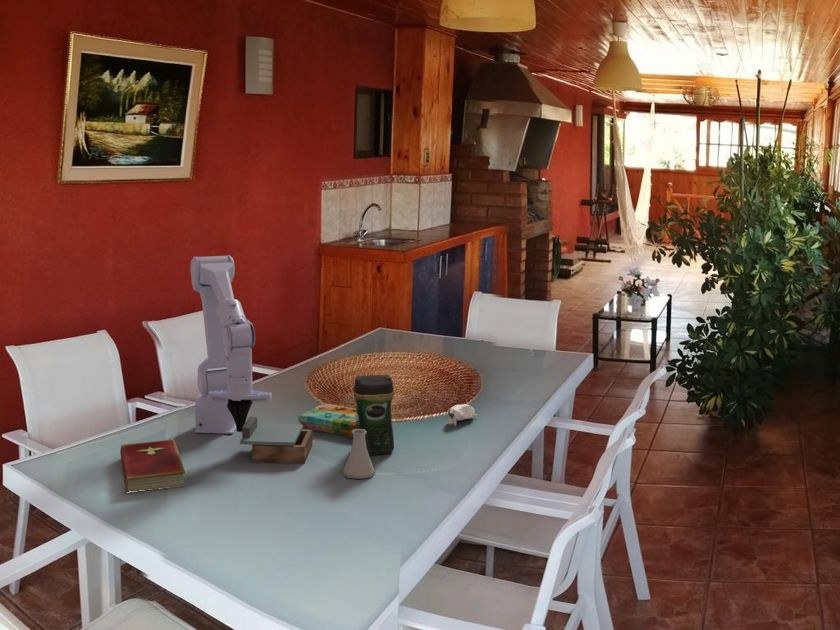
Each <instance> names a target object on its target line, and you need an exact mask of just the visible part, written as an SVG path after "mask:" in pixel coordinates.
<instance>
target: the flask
mask: <svg viewBox="0 0 840 630" xmlns="http://www.w3.org/2000/svg"><path fill="white" fill-rule="evenodd" d="M352 434H353V437H352V438H353V439H352V444H351V445H352V446H351V448H350V452H349V454H348V457H347V460H346V463H345V465H344V468H343V471H342V474H343V475H344V476H345V477H346V479H347V478H348V479H355V480H362V479H369V478H373V476H374V475H375V474H376V471H375V468H374V465H373V462H372V459H371V457H370V455H369V454H368V451H367V448H366V442H365V434H366V430H364V429H355V430H353V431H352Z"/></svg>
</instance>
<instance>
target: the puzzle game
mask: <svg viewBox="0 0 840 630" xmlns="http://www.w3.org/2000/svg"><path fill="white" fill-rule="evenodd" d="M297 419H298V422H299V423H300V425H303V429H306V430H312V431H317V432H324V433H329V434H334V435H341V436H345V437H351V438H353V434H352V431H353V430H355V424H356V408H354V407H348V406H346V405H336V404H330V403H326V402H325V403H322V404H320V405H317V406H316V407H314V408H312V409H309V410H308V411H306V412H303V413H302V414H299V415H298V417H297Z"/></svg>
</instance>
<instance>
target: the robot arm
mask: <svg viewBox="0 0 840 630" xmlns="http://www.w3.org/2000/svg"><path fill="white" fill-rule="evenodd" d="M235 268H236V266H235V261H234V258H233V257H232V256H231V255H230V254H227V255H216V256H214V255H213V256H193V257H192V259H191V261H190V278H191V285H192V289H193V291H195V292H197V293H199V296H200V300H201V305H202V315H203V325H204V334H205V335H204V336H205V343H206V351H207V352H206V353H207V357H206V359H204V360H203V361H202V362H201V363H200V364H199V365H198V368H197V387H198V392H199V394H198V395H197V397H196V400H195V404H194V410H195V411H194V413H195V415H194V417H195V430H194V433H196V434H198V433H199V434H227V435H228V434H229V435H231V434H233V433H234V432H235V431H236V432H239V433H242V427H243V426H244V424H245V423H246V421H247V419H248V418H247V417H248V415H249V411H250V409H251V407H252V404H253V403H254V402H258V403H259V402H264V403H269V404H270V403H271V402H272V401H273V396H272V395H273V393H272V392H270V391H269V392H268V391H267V392H266V391H259V390H253V353H252V348H254V346H255V344H256V332H255V327H254V325H253V323H252V322H250V320H249V319H247V317H246V315H245V312H244V309H243V306H242V303H241V302H240V301H239V300H238V299H235V298H234V297H235V296H234V292H233V287H232V282H233V280H234V277H235V275H236V274H235V272H236V271H235ZM220 368H221V369H220ZM222 368H223V369H222ZM211 369H212V370H211Z"/></svg>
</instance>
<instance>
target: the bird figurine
mask: <svg viewBox="0 0 840 630" xmlns="http://www.w3.org/2000/svg"><path fill="white" fill-rule="evenodd" d="M450 411H451V413H450ZM453 411H454V412H453ZM475 411H476V410H475V408H474V407H472V405H470V404H465V403H464V404H456V405H453V406H452V407H450V408H449V409H448V410H447V416H449V419H448V420H447V421H446V425H447V426H448V425H453V426H454V427H455V426H457V421H463V420H464V421H465V420H468V419H469V420H470V419H472V418H473V417H476V416H478V414H477V413H476V414H475Z"/></svg>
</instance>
